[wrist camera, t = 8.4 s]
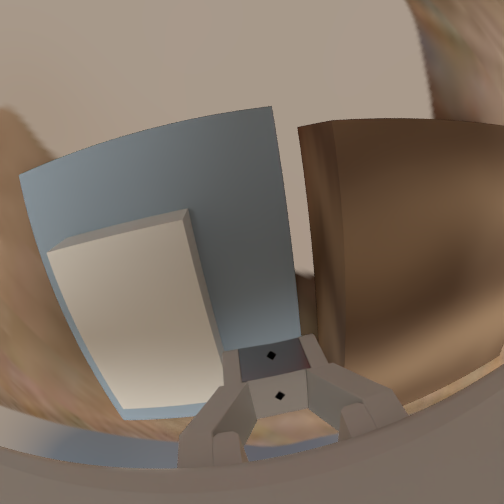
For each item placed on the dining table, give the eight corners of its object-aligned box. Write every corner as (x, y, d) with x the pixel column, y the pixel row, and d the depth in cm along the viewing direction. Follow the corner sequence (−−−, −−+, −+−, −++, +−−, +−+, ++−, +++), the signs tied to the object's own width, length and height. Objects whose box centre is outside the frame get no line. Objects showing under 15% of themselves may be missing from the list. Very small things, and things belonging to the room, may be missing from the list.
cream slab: (182, 219, 10) (188, 208, 12) (46, 252, 10) (66, 238, 12) (232, 398, 13) (230, 372, 15) (123, 409, 13) (129, 384, 15)
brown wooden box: (297, 127, 12) (331, 120, 8) (483, 125, 12) (533, 130, 9) (319, 379, 17) (340, 428, 13) (467, 326, 17) (499, 355, 14)
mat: (22, 174, 11) (19, 174, 10) (270, 106, 11) (271, 106, 11) (124, 416, 16) (123, 420, 16) (304, 393, 17) (305, 396, 17)
